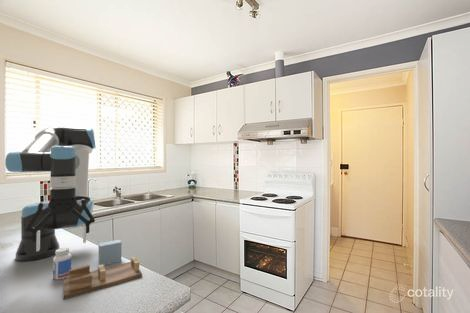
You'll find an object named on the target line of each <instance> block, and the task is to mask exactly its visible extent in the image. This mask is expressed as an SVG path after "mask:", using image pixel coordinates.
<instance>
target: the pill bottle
mask: <svg viewBox="0 0 470 313" xmlns="http://www.w3.org/2000/svg"><path fill="white" fill-rule="evenodd" d="M54 255H55V256H54V257H53V258H52V259H53V260H52V278H53V279H54V280H64V278H66V277H69V269H72V254H71V253H70V247H61V248H60V247H59V249H57V250H56V251H55V254H54Z"/></svg>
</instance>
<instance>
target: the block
mask: <svg viewBox="0 0 470 313" xmlns="http://www.w3.org/2000/svg"><path fill="white" fill-rule="evenodd" d="M119 261H120V262H122V241H121V239H115V240H110V241H109V240H108V241H105V242H100V243H99V242H98V265H102V264H103V265H104V266H108V265H110V264H115V262H116V263H119Z"/></svg>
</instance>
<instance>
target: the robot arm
mask: <svg viewBox="0 0 470 313" xmlns="http://www.w3.org/2000/svg"><path fill="white" fill-rule="evenodd" d="M95 139H96V138H95V132H94V129H93V128H91V127H85V126H83V127H82V126H81V127H80V126H68V125H67V126H65V125H55V126H51V127H48V128H44V129H42V130H41V131H39V132H38V133H37V134H36V135H35V136H34V139H33V141H32V142H30V144H28V146H26V147H25V148H24V149H23V150H22V151H15V152H14V151H13V152H8V153H7V154H6V156H5V168H6V170H7V171H8V172H10V173H32V172H33V173H34V172H35V173H40V172H45V173H46V172H50V180H49V183H50V184H49V186H50V190H49V200H46V201H40V202H36V203H32V204H31V203H30V204H29V205H25V206H24V207H23V208H22V210H21V216H20V218H21V222H20V226H21V227H20V228H21V229H20V230H21V231H20V234H21V235H20V236H21V237H20V238H21V239H20V242H19V245H18V247H17V249H16V252H15V260H16V261H18V262H29V261H30V262H31V261H36V260H41V259H44V258H48V257H51V256H53V255H55V251H56V250H57V249H60V243H59V241H58V238H57V237H56V230H60V229H61V230H62V229H68V228H79V227H83V228H82V232H83V233H82V242H83V244H86V243H87V234H89V233H90V225H91V224H93V223H95V222H96V219H95V218H94V217H93V213H94V212H93V210H94V201H93V200H91V197H90V196H89V195H88V182H89V180H88V179H89V160H90V154H91V153H92V152H93V150H94V149H96V148H97V147H96V141H95Z"/></svg>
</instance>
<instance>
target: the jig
mask: <svg viewBox="0 0 470 313" xmlns="http://www.w3.org/2000/svg"><path fill="white" fill-rule="evenodd" d="M97 268H98V269H96V270H95V269H94V270H91V266H90V264H87V265H82V266H77V267H74V268H71V269H69V276H68V277H66V278H63V300H66V299H70V298H74V297H76V296H80V295H84V294H87V293H91V292H94V291H97V290H101V289H105V288H108V287H111V286H114V285H115V286H116V285H118V284H123V283H125V282H129V281H132V280H133V281H134V280H136V279H139V278H142V277H143V273H142V271H141V270H140V261H139V259H138V258H137V257H136V256H132V257H130V261H128V262H124V263H119V264H116V265H113V266H108V267H105V265H103V264H102V265H99V264H98V267H97Z"/></svg>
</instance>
